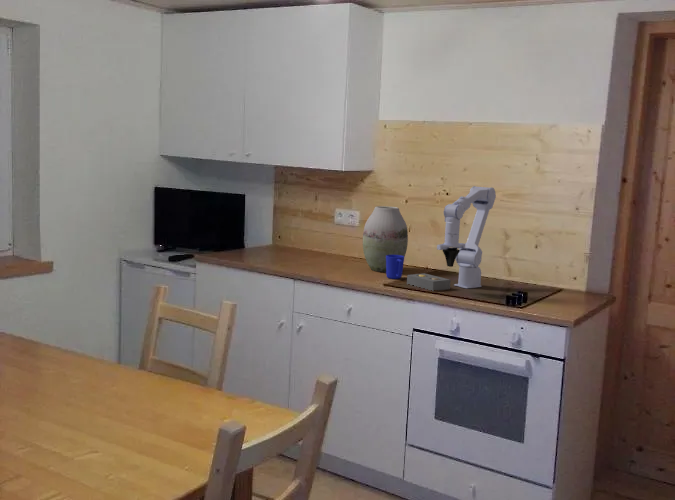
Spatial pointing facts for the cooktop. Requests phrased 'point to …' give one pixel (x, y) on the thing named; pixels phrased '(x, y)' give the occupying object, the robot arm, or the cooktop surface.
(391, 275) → the mug
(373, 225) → the vase
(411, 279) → the block
